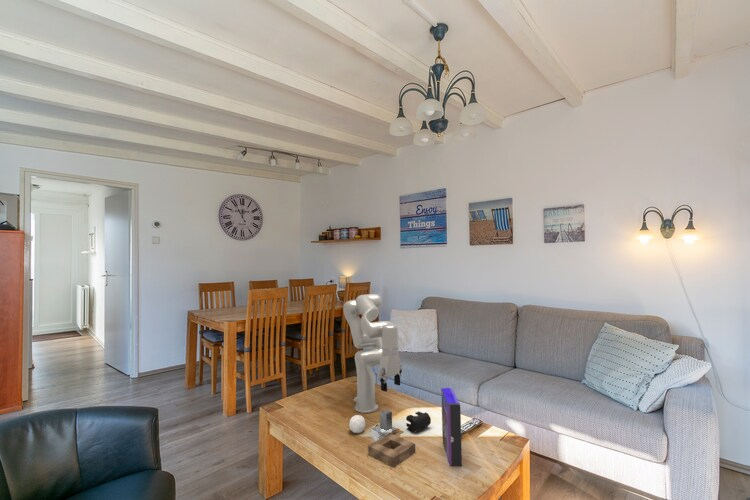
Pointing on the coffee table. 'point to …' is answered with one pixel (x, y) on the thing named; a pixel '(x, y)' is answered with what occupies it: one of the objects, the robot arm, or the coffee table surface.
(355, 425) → the geometric ball
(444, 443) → the cereal box
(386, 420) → the grey rectangular block
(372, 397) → the robot arm
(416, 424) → the end cap
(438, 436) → the coffee table surface
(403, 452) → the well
